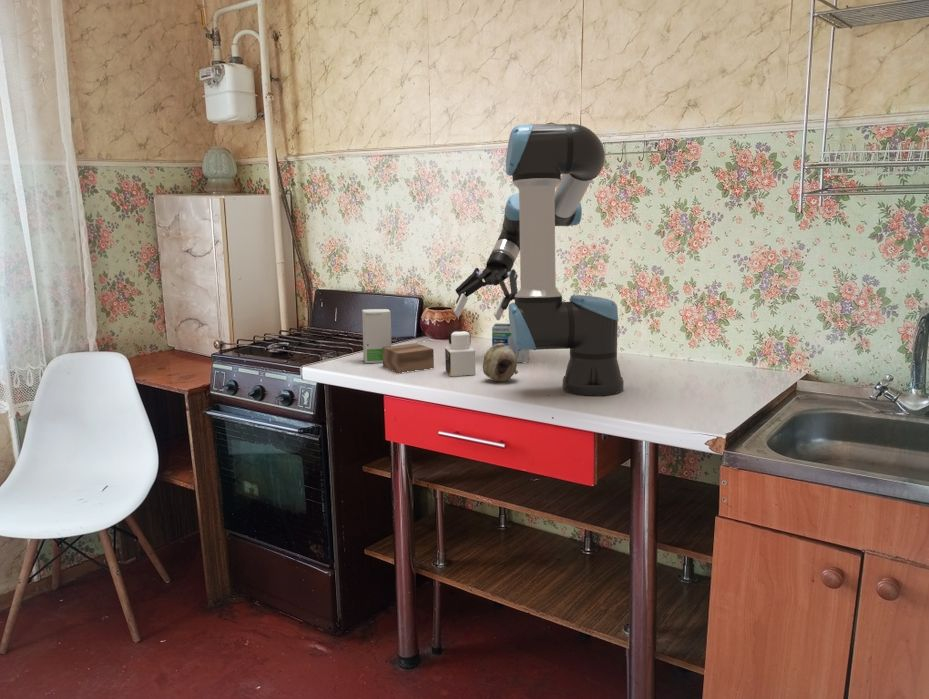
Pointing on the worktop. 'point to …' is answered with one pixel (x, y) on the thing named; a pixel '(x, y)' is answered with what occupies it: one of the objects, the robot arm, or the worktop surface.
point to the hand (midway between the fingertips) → (475, 315)
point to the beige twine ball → (499, 363)
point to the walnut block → (408, 357)
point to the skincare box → (375, 333)
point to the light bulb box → (508, 341)
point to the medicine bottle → (460, 354)
